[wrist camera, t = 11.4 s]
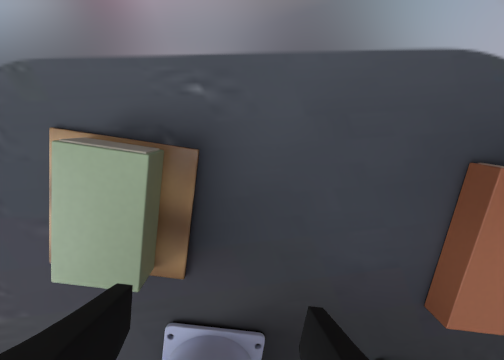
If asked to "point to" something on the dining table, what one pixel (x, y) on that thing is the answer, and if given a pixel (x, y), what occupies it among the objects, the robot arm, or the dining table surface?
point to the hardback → (473, 257)
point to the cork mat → (171, 200)
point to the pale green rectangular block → (104, 212)
